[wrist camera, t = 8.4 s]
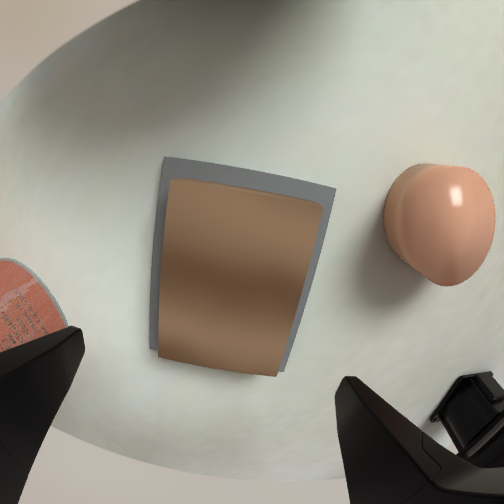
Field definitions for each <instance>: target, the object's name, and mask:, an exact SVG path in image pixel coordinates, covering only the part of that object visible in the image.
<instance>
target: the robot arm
mask: <svg viewBox="0 0 504 504" xmlns="http://www.w3.org/2000/svg"><path fill="white" fill-rule="evenodd" d="M84 352H85V345H84V338H83V332H82V330H81V329H80V328H77V327H74V326H69V327H66V328H63V329H61V330H58V331H55V332H53V333H50V334H47V335H45V336H42V337H39V338H37V339H34V340H31V341H29V342H26V343H23V344H21V345H18V346H15V347H13V348H10V349H7V350H5V351H2V352H0V504H18V502H19V499H20V496H21V494H22V491H23V488H24V486H25V483H26V480H27V478H28V474H29V472H30V470H31V467H32V465H33V463H34V460H35V458H36V456H37V453H38V451H39V449H40V447H41V444H42V442H43V440H44V438H45V436H46V434H47V431H48V429H49V427H50V425H51V423H52V421H53V419H54V417H55V415H56V413H57V411H58V409H59V407H60V405H61V403H62V401H63V400H64V398H65V396H66V394H67V392H68V390H69V388H70V386H71V384H72V382H73V379H74V377H75V374H76V372H77V369H78V367H79V365H80V362H81V360H82V358H83V355H84ZM492 376H493V373H492V372H491V371H489V372H483V373H477V374H470V375H463V376H461V377H460V378H459V379H458V380H457V381H456V383H455V384H454V386H453V387H452V389H451V390H450V392H449V393H448V395H447V396H446V398H445V399H444V400H443V402H442V403H441V405H440V406H439V407H438V409H437V410H436V411H435V413H434V414H433V415H432V417H431V418H430V421H431V423H434V422H438V421H441V422H442V424H443V425H444V427H445V429H446V431H447V432H448V434H449V436H450V438H451V439H452V441H453V443H454V445H455V446H456V448H457V450H458V452H459V453H458V454H456V455H455V454H454V453H452V452H450V451H449V450H447V449H446V448H444V447H443V446H441V445H440V444H439V443H437V442H436V441H435V440H433V439H432V438H431V437H429V436H428V435H427V434H426V433H424V432H422V430H420V429H419V428H418V427H417V426H415V425H414V424H413V423H412V422H410V421H409V420H408V419H407V418H406V417H404V416H403V415H402V414H401V413H399V412H398V411H397V410H396V409H395V408H393V407H392V406H391V405H390V404H388V403H387V402H386V401H385V400H384V399H382V398H381V397H380V396H379V395H378V394H376V393H375V392H374V391H373V390H372V389H370V388H369V387H368V386H367V385H366V384H364V383H363V382H362V381H361V380H360V379H358V378H357V377H355V376H345V377H344V378H343V379H342V381H341V383H340V385H339V387H338V389H337V391H336V393H335V407H336V419H337V431H338V438H339V443H340V448H341V454H342V459H343V464H344V470H345V475H346V481H347V487H348V493H349V499H350V504H504V390H503V388H502V387H501V386H500V385H499V384H498V382H497V381H496V380H495V379H494V378H493V377H492Z"/></svg>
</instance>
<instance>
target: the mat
mask: <svg viewBox="0 0 504 504" xmlns="http://www.w3.org/2000/svg"><path fill="white" fill-rule="evenodd" d="M176 178H187V179H194V180H201V181H207V182H214V183H220V184H226V185H232V186H238V187H244V188H249V189H255V190H260V191H266V192H271V193H276V194H281V195H286V196H291V197H296V198H301V199H306V200H310V201H315V202H316V203H318V204H320V205H321V206H323V211H322V215H321V219H320V224H319V228H318V232H317V236H316V240H315V244H314V248H313V252H312V256H311V260H310V264H309V268H308V272H307V275H306V279H305V283H304V286H303V290H302V294H301V297H300V301H299V304H298V308H297V311H296V315H295V318H294V322H293V325H292V328H291V332H290V335H289V338H288V341H287V345H286V348H285V351H284V354H283V357H282V360H281V364H280V367H279V370H278V371H280V372H284V369H285V366H286V363H287V361H288V358H289V355H290V352H291V349H292V346H293V343H294V340H295V337H296V334H297V331H298V327H299V324H300V321H301V318H302V315H303V312H304V308H305V305H306V302H307V298H308V295H309V292H310V288H311V285H312V281H313V278H314V274H315V271H316V267H317V264H318V260H319V256H320V253H321V249H322V245H323V241H324V237H325V234H326V230H327V226H328V222H329V218H330V213H331V209H332V205H333V201H334V196H335V192H336V189H335V188H331V187H327V186H323V185H319V184H315V183H311V182H306V181H302V180H298V179H293V178H288V177H284V176H279V175H274V174H269V173H264V172H259V171H254V170H249V169H243V168H237V167H232V166H226V165H220V164H213V163H207V162H200V161H193V160H186V159H179V158H171V157H164V161H163V168H162V174H161V181H160V188H159V196H158V204H157V213H156V222H155V232H154V243H153V256H152V272H151V292H150V349H154V350H158V328H159V296H160V277H161V262H162V249H163V238H164V228H165V218H166V209H167V201H168V193H169V185H170V180H171V179H176Z"/></svg>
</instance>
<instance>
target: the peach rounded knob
mask: <svg viewBox="0 0 504 504" xmlns="http://www.w3.org/2000/svg"><path fill="white" fill-rule="evenodd" d="M384 229H385V234H386V237H387V240H388V243H389V245H390V246H391V248H392V250H393V251H394V252H395V253H396V255H397V256H398V257H400V258H401V259H402V260H404V261H405V262H407V263H408V264H409V265H411V266H412V267H413V268H415V269H416V270H417V271H419V272H420V273H421V274H423V275H424V276H425V277H427V278H428V279H429V280H430V281H432V282H433V283H435V284H437V285H441V286H453V285H457V284H459V283H462V282H464V281H465V280H467V279H468V278H469V277H471V276H472V275H473V274H474V273H475V272H476V271H477V270H478V268H479V267H480V266H481V264H482V263H483V261H484V260H485V258H486V256H487V254H488V252H489V249H490V247H491V244H492V240H493V236H494V231H495V206H494V201H493V197H492V194H491V192H490V189H489V187H488V185H487V184H486V182H485V181H484V179H483V178H482V177H481V176H480V175H479V174H478V173H476V172H475V171H473V170H471V169H469V168H465V167H458V166H449V165H438V164H417V165H414V166H412V167H410V168H408V169H407V170H405V171H404V172H403V173H402V174H401V175H400V176H399V177H398V178H397V179H396V181H395V182H394V183H393V185H392V187H391V189H390V191H389V193H388V196H387V199H386V203H385V208H384Z"/></svg>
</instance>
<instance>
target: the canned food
mask: <svg viewBox="0 0 504 504" xmlns="http://www.w3.org/2000/svg"><path fill="white" fill-rule="evenodd" d="M66 327H69V326H68V324H67V321H66V319H65V317H64V314H63V312H62V310H61V308H60V307H59V305H58V303H57V301H56V300H55V298H54V297H53V295H52V294H51V292H50V291H49V290H48V288H47V287H46V286H45V284H44V283H43V282H42V281H41V280H40V279H39V278H38V276H37V275H36V274H35V273H33V272H32V271H31V270H30V269H29V268H28V267H26V266H25V265H23V264H22V263H20V262H18V261H16V260H14V259H10V258H2V259H0V352H2V351H5V350H7V349H10V348H13V347H15V346H18V345H21V344H23V343H26V342H29V341H31V340H34V339H37V338H39V337H42V336H45V335H47V334H50V333H53V332H55V331H58V330H61V329H63V328H66Z"/></svg>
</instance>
